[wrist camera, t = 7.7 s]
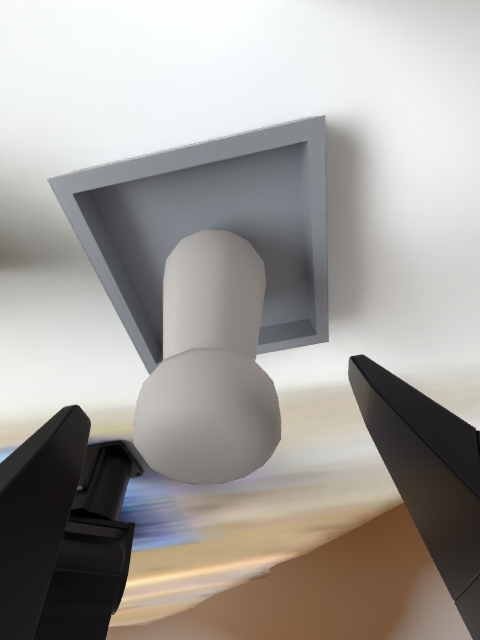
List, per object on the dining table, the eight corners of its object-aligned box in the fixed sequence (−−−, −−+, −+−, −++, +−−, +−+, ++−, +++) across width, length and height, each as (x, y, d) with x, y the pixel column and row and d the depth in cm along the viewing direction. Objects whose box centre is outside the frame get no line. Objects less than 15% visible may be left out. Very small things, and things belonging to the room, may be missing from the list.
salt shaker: (277, 272, 19) (353, 466, 8) (210, 317, 20) (198, 526, 10) (223, 196, 16) (226, 337, 5) (150, 255, 18) (39, 454, 7)
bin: (316, 317, 22) (328, 341, 20) (156, 347, 23) (149, 373, 21) (307, 117, 15) (324, 115, 12) (74, 171, 16) (47, 179, 13)
